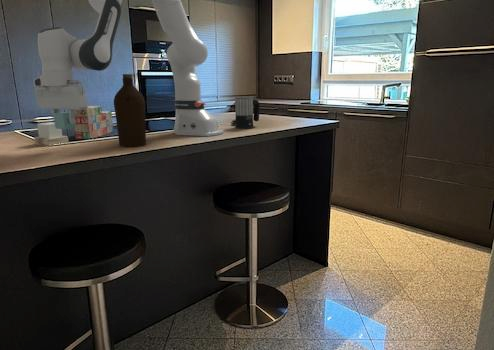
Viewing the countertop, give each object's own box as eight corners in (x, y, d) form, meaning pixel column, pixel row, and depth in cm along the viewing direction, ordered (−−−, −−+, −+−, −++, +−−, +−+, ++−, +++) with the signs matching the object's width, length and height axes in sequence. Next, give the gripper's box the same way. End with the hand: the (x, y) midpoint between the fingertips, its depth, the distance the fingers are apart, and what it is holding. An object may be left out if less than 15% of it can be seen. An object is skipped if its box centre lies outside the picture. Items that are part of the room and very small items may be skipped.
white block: (62, 136, 137) (60, 123, 136) (49, 138, 132) (47, 124, 131) (52, 135, 139) (50, 122, 138) (39, 137, 134) (37, 123, 133)
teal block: (76, 127, 125) (74, 112, 123) (64, 129, 121) (62, 113, 119) (67, 126, 126) (64, 112, 125) (55, 128, 123) (53, 113, 121)
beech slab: (68, 143, 139) (67, 136, 138) (49, 147, 132) (48, 139, 131) (54, 142, 142) (53, 134, 141) (35, 145, 135) (34, 137, 134)
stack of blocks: (100, 131, 167) (98, 104, 164) (114, 131, 167) (111, 104, 164) (75, 139, 147) (71, 108, 144) (90, 139, 146) (86, 108, 143)
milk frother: (246, 129, 174) (246, 97, 170) (220, 127, 182) (219, 96, 178) (262, 126, 186) (262, 96, 182) (236, 124, 194) (236, 95, 190)
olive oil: (153, 144, 134) (148, 74, 127) (125, 148, 127) (119, 74, 120) (139, 141, 141) (134, 74, 135) (112, 144, 134) (105, 74, 128)
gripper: (89, 79, 118) (95, 122, 122) (46, 80, 126) (53, 120, 130) (73, 80, 112) (79, 125, 116) (29, 80, 121) (36, 122, 125)
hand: (65, 122), depth 123 cm, fingers closed on teal block, 4 cm apart
